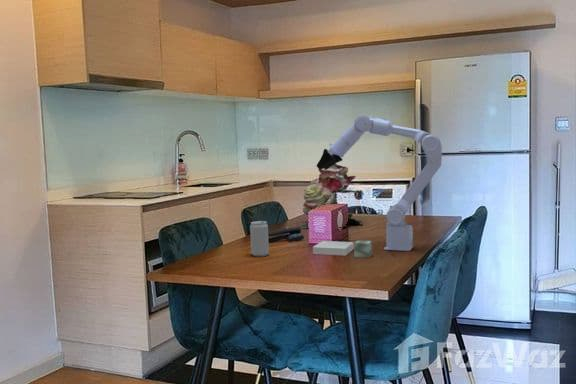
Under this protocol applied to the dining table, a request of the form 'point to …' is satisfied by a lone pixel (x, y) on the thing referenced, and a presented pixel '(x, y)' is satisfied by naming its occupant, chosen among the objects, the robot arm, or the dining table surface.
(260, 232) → the beverage can
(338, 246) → the stacking base
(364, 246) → the green cube
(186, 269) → the dining table surface
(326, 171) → the rose bouquet
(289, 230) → the can opener
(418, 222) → the dining table surface
